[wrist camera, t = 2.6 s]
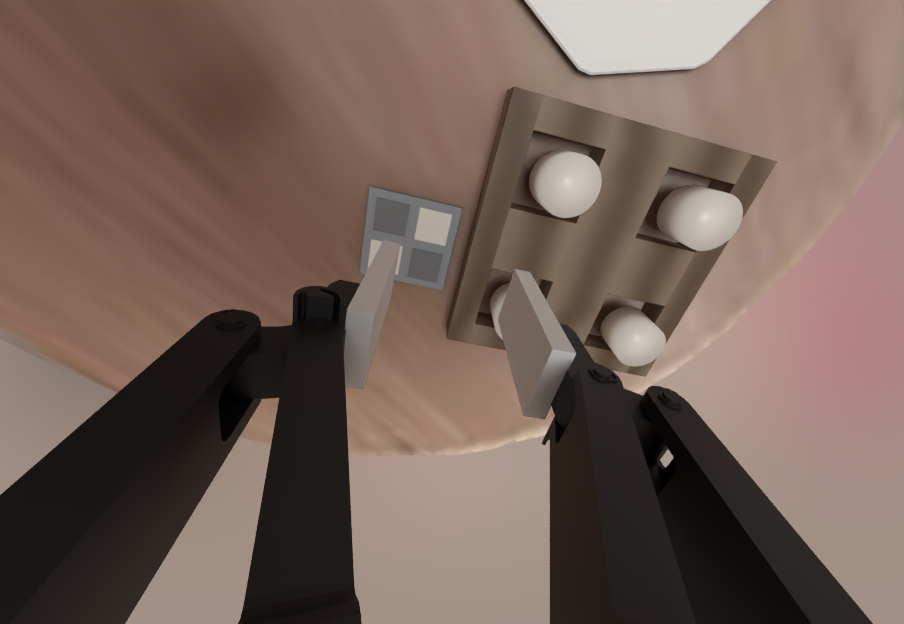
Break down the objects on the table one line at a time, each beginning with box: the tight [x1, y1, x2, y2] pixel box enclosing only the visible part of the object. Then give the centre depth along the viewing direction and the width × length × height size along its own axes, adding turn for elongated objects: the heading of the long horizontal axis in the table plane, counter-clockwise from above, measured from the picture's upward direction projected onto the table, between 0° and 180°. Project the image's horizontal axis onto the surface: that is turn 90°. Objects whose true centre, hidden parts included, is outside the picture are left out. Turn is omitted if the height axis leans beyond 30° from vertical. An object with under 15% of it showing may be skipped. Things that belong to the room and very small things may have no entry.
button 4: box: [657, 185, 743, 251], centre depth 31 cm, size 5×5×4 cm
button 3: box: [600, 306, 666, 367], centre depth 37 cm, size 5×5×4 cm
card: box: [359, 186, 462, 290], centre depth 36 cm, size 9×9×1 cm
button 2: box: [529, 150, 602, 218], centre depth 30 cm, size 5×5×4 cm
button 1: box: [490, 283, 510, 339], centre depth 35 cm, size 5×5×4 cm
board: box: [447, 87, 777, 377], centre depth 36 cm, size 24×24×3 cm
